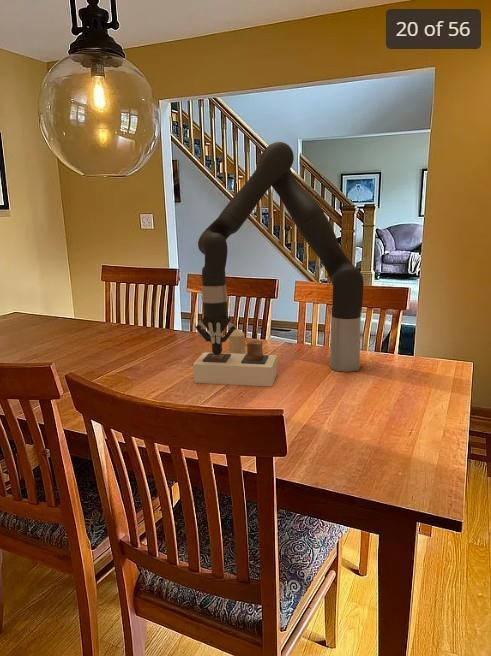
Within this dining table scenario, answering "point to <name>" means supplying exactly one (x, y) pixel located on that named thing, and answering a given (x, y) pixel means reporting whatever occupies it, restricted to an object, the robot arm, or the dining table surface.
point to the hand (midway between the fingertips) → (217, 354)
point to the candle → (237, 342)
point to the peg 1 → (217, 356)
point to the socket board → (235, 370)
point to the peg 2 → (254, 350)
